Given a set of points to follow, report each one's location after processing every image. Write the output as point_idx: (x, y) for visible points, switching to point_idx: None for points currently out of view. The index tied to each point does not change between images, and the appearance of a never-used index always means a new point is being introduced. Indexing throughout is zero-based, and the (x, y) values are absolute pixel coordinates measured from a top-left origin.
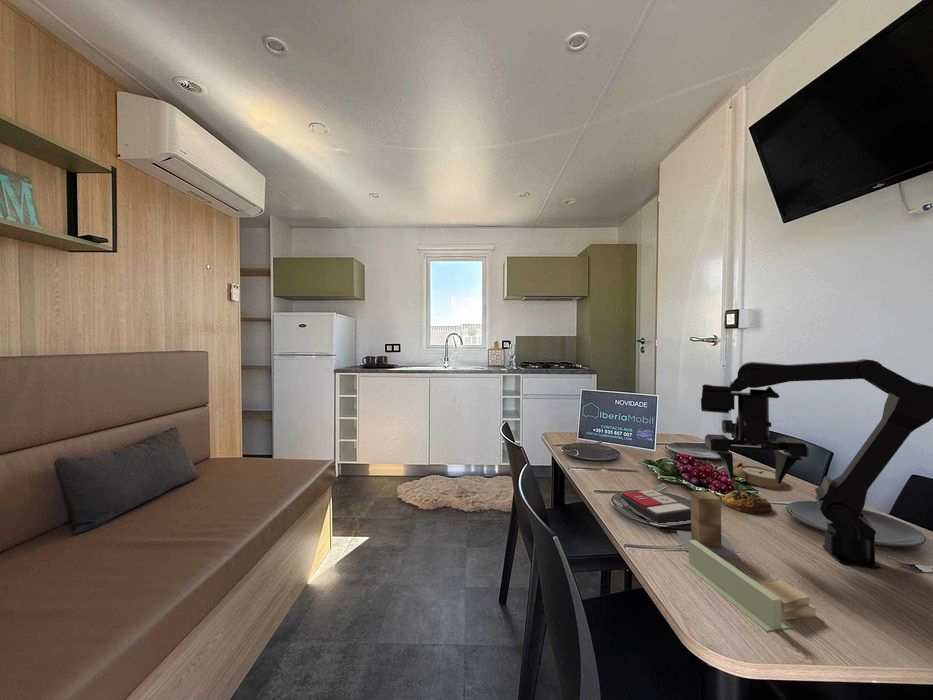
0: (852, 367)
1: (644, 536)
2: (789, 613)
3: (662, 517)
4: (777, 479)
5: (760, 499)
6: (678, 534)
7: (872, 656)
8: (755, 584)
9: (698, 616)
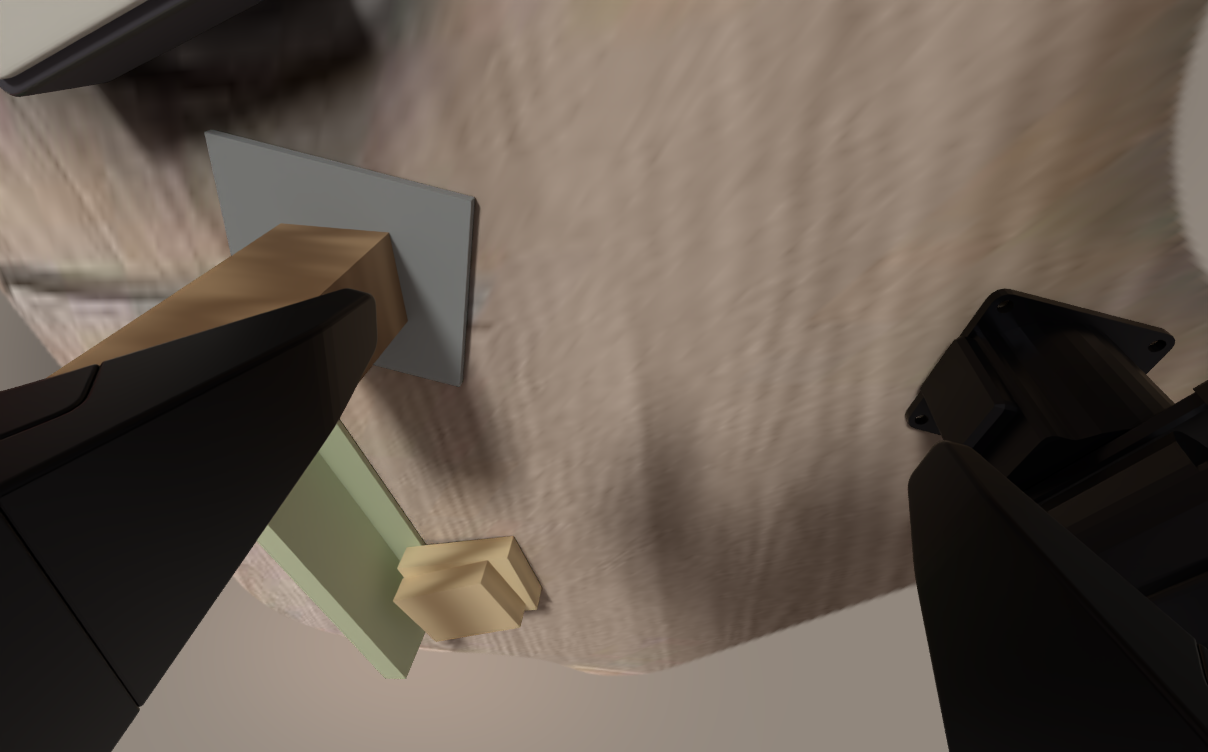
0: None
1: (55, 191)
2: None
3: (61, 82)
4: (925, 519)
5: None
6: (216, 180)
7: (576, 653)
8: (365, 645)
9: (271, 565)
